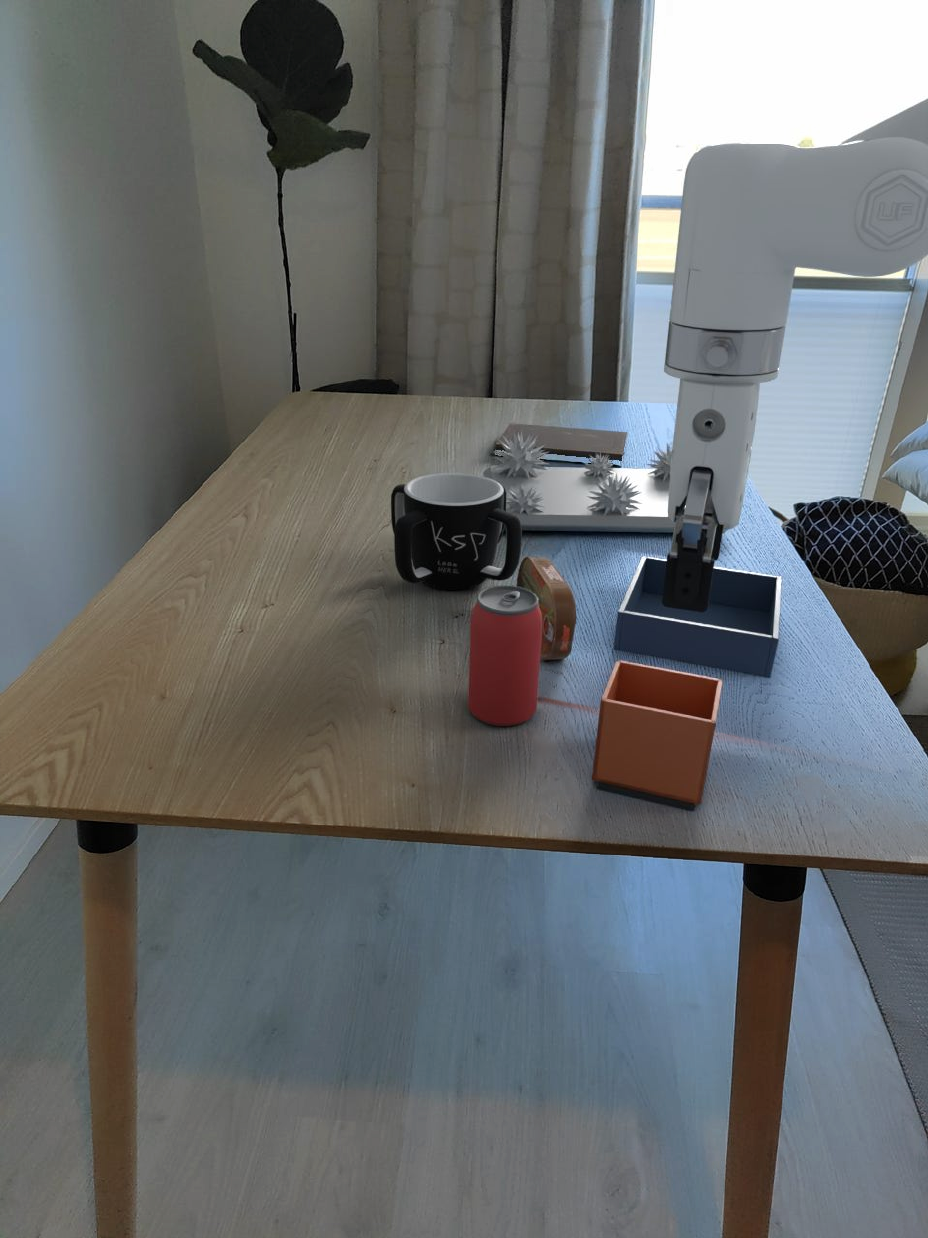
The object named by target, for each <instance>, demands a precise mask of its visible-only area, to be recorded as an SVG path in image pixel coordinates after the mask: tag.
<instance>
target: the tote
mask: <svg viewBox="0 0 928 1238" xmlns="http://www.w3.org/2000/svg"><path fill="white" fill-rule="evenodd" d="M666 563H667V558H666V559H665V558H659V557H652V556H646V555H645V556H644V555H641V558H640V560H639V563H638V565H637V566H636V568H635V572H634V574H633V576H632V579H631V580H630V583H629V585H628V588H627V590H626V592H625V594H624V597H623V599H622V601H621V604H620V606H619V608H618V611H617V614H616V615H617V616H616V624H615V631H614V632H615V633H614V641H613V650H614V651H619V652H620V651H621V652H624V653H625V652H626V653H630V654H636V655H643V656H648V657H653V658H657V659H658V658H659V659H662V660H663V659H664V660H670V661H675V662H681V663H687V664H692V665H697V666H702V667H708V668H713V669H719V670H724V671H730V672H735V673H741V674H745V675H752V676H757V677H763V678H769V679H771V678H772V673H773V667H774V664H775V660H776V655H777V648H778V645H779V640H780V626H781V625H780V623H781V606H782V589H783V588H782V587H783V576H779V575H774V574H773V575H772V574H765V573H759V572H752V571H747V570H740V569H731V568H726V567H720V566H714V568H713V575H712V582H711V589H710V596H709V603H708V608H707V610H706V611H705V612H697V611H690V610H683V609H676V608H669V607H665V606H664V605H663V604H662V597H663V588H664V580H665V571H666Z"/></svg>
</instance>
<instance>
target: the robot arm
mask: <svg viewBox="0 0 928 1238" xmlns="http://www.w3.org/2000/svg"><path fill="white" fill-rule="evenodd" d="M686 165H687V166H686V168H685V172H684V179H683V187H682V197H681V205H680V216H679V224H678V235H677V243H676V254H675V263H674V271H673V274H674V275H673V281H672V282H673V284H672V291H671V300H670V310H669V312H670V313H669V321H668V327H667V328H668V329H667V338H666V348H665V357H664V366H663V372H664V373H665V374H666V375H668V376H671V377H673V378H676V379H679V386H678V394H677V402H676V411H675V419H674V429H673V438H672V445H671V446H672V447H671V452H672V457H671V468H670V481H669V496H668V517H669V518H670V519H671V520H672V521H673V522H675V528H674V533H673V534H672V539H671V545H670V552H667V555H666V560H667V563H666V571H665V580H664V588H663V597H662V604H663V605H664V606H665V607H669V608H676V609H683V610H690V611H697V612H705V611H706V610H707V608H708V603H709V596H710V589H711V582H712V575H713V568H714V567H715V562H716V561H717V560H719V558H720V553H721V547H722V540H723V534H724V533H723V526H724V525H728V529H729V530H732V529H734V528H736V527H737V526H738V525H739V523H740V520H741V514H742V509H743V504H744V499H745V493H746V488H747V487H746V486H747V481H748V476H749V475H748V474H749V467H750V463H751V456H752V451H753V450H752V449H753V443H754V437H755V431H756V423H757V416H758V408H759V400H760V399H759V398H760V386H761V385H760V384H763V383H769V382H771V381H773V380H776V379H777V378H778V375H779V368H780V362H781V358H782V357H781V356H782V352H783V345H784V338H785V333H786V325H787V321H788V315H789V309H790V304H791V303H790V302H791V299H792V291H793V285H794V279H795V273H796V269H797V268H798V269H799V268H800V269H806V270H807V269H808V270H816V271H822V272H827V273H828V272H829V273H834V274H841V275H846V276H853V277H861V278H862V277H863V278H876V277H884V276H888V275H892V274H896V273H899V272H901V271H904V270H907V269H908V268H910V267H912V266H914V265H916V264H917V263H919V262H921V261H922V260H924V258H926V257H927V256H928V98H926V99H924V100H922V101H919V102H917V103H915V104H914V105H912V106H909V107H908V108H906V109H903V110H902V111H900V112H898V113H896V114H894V115H892V116H890V117H888V118H886V119H883V121H881V122H878V123H876V124H874V125H873V126H871V127H868V128H867V129H865V130H863V131H860V132H859V133H857V134H855V135H853V136H851V137H849V138H847V139H845V140H843V141H841V142H840V143H838V144H834V145H825V146H813V147H811V146H810V147H801V146H798V145H796V144H791V143H786V142H785V143H784V142H729V143H728V142H727V143H725V142H724V143H715V144H710V145H706V146H704V147H701V148H699V149H698V150H697V151H696V152H694V153H693V155H692V156H691V157H690V159H689V161H688V163H687V164H686Z"/></svg>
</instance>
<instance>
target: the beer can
mask: <svg viewBox="0 0 928 1238" xmlns="http://www.w3.org/2000/svg"><path fill="white" fill-rule="evenodd" d="M469 624H470V627H469V630H470V631H469V657H468V658H469V660H468V663H469V664H468V693H467V706H468V710H469V711H470V713H471V715H473V716H474V717H475V718H476V719H477V720H479V721H481V722H483V723H485V724H487V725H490V726H491V725H492V726H496V727H511V726H518V725H520V724H523V723H526V722H527V721H528V720H529V719H531V718H532V717H533V716H534V714H535V713H536V711H537V707H538V696H539V695H538V692H539V678H540V666H541V665H540V664H541V654H540V653H541V640H542V626H543V623H542V614H541V611H540V608H539V605H538V597H537V596H536V595H535V594H534V593H533V592H531V591H530V590H528V589H525V588H522V587H517V585H510V584H509V585H507V584H505V585H504V584H502V585H494V586H489V587H486V588H485V589H482V590H481V591H480V592H479V593H478V594H477V595H476V602H475V604H474V606H473V608H472V613H471V615H470V623H469Z"/></svg>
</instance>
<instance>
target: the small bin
mask: <svg viewBox="0 0 928 1238" xmlns="http://www.w3.org/2000/svg"><path fill="white" fill-rule="evenodd" d="M723 682H724V679H722V678H718V677H717V678H716V677H711V676H707V675H700V674H695V673H690V672H685V671H679V670H674V669H669V668H664V667H656V666H652V665H647V664H641V663H637V662H632V661H626V660H620V659H616V661H615V663H614V666H613V668H612V670H611V674H610V676H609V679H608V680H607V683H606V686H605V689H604V691H603V693H602V697H601V699H600V703H599V713H598V719H597V721H598V722H597V729H596V730H597V731H596V738H595V747H594V757H593V767H592V775H591V781H594V782H598V783H599V782H603V783H607V784H611V785H616V786H620V787H625V788H629V789H633V790H638V791H642V792H646V793H651V794H655V795H659V796H664V797H668V798H673V799H677V800H681V801H686V802H690V803H694V804H695V805H700V806H701V805H702V801H703V800H702V799H703V794H704V789H705V785H706V779H707V773H708V767H709V762H710V758H711V757H710V756H711V752H712V747H713V741H714V737H715V730H716V726H717V718H718V713H719V707H720V703H721V702H720V701H721V697H722V696H721V694H722V689H723V684H724V683H723Z"/></svg>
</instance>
